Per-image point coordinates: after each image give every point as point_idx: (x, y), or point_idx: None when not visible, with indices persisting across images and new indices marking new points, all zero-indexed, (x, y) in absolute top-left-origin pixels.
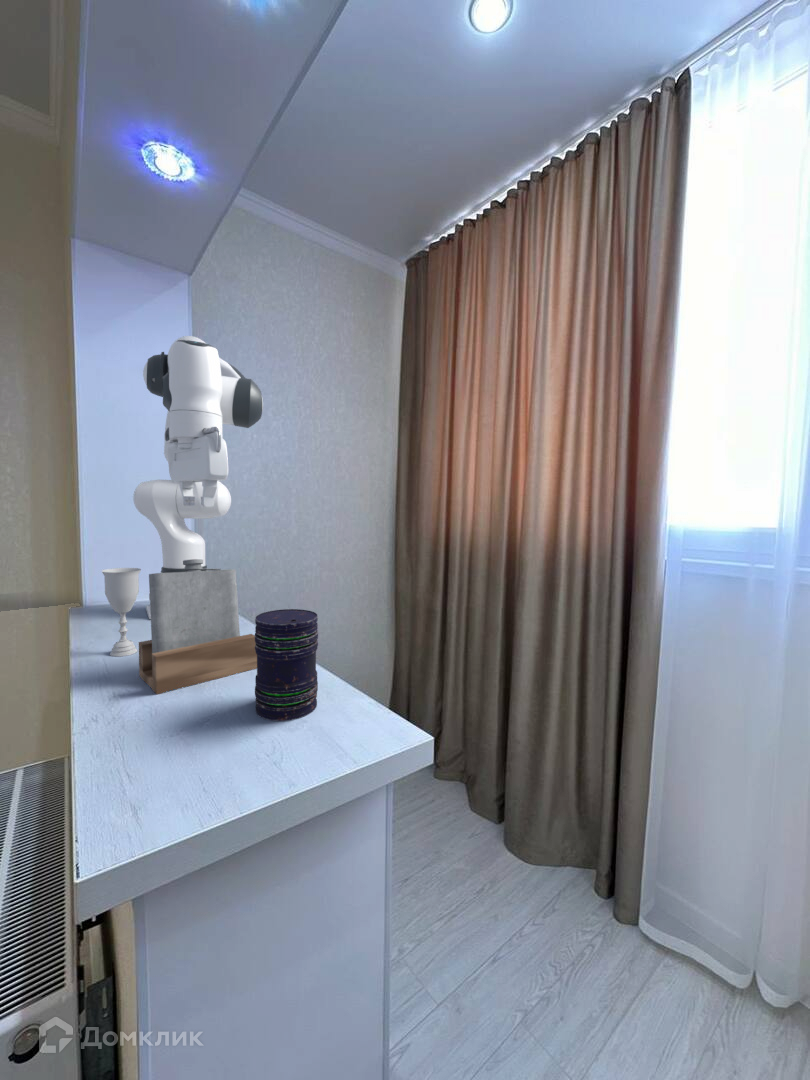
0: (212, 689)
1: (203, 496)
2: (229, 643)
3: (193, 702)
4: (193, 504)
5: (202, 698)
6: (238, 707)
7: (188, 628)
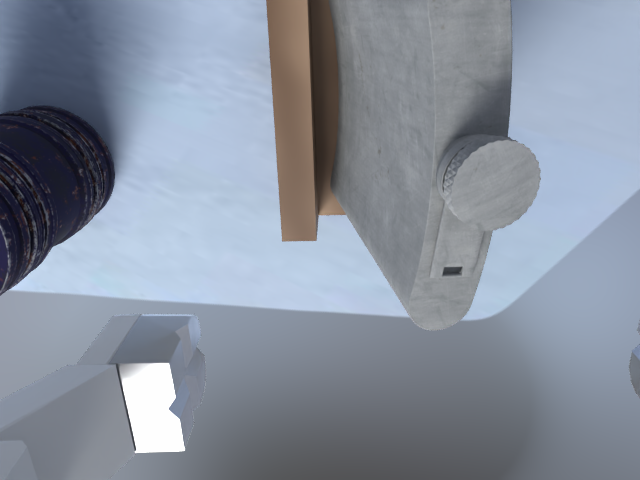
0: (227, 79)
1: (81, 363)
2: (277, 164)
3: (178, 19)
4: (636, 375)
5: (189, 43)
6: (100, 89)
7: (364, 81)
